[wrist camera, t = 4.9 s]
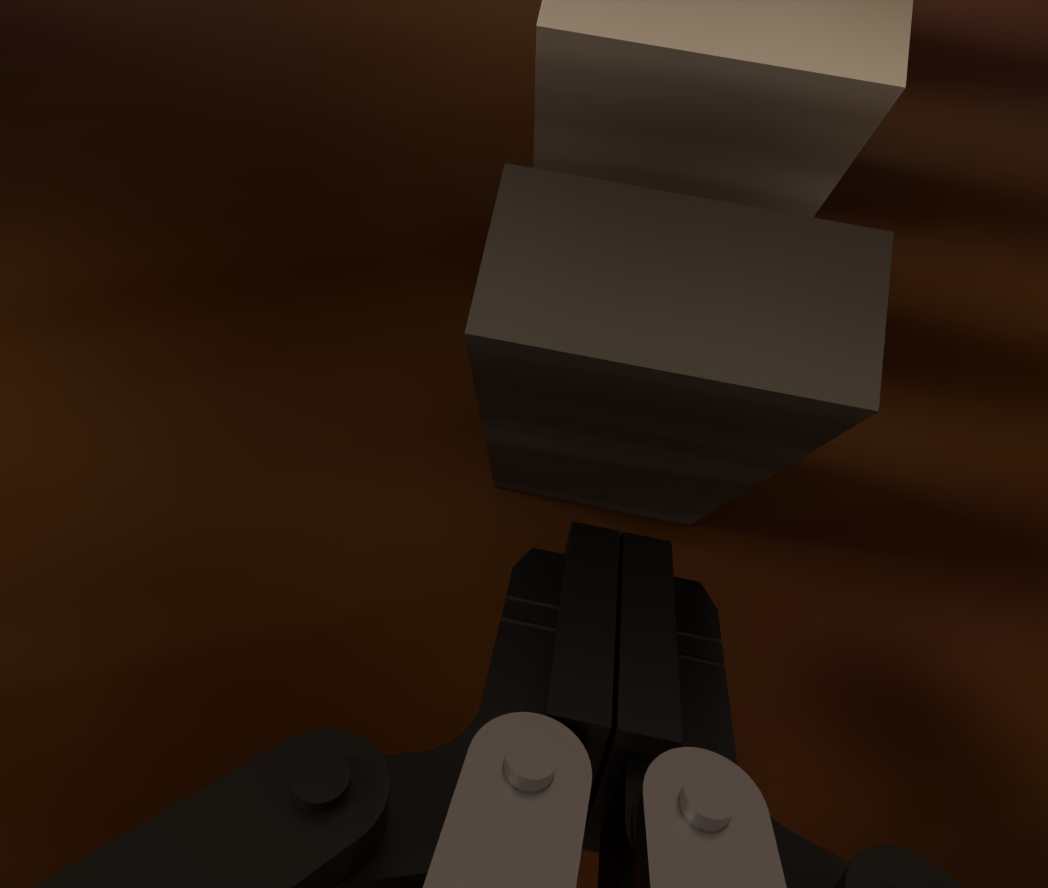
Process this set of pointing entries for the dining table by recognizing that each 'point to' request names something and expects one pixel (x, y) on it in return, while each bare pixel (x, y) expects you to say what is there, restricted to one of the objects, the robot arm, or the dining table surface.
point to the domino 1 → (717, 93)
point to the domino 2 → (667, 342)
